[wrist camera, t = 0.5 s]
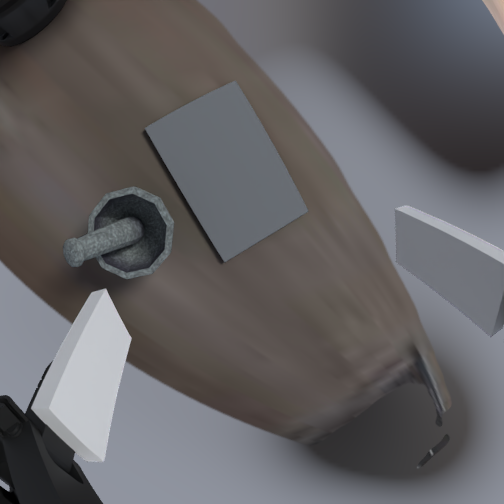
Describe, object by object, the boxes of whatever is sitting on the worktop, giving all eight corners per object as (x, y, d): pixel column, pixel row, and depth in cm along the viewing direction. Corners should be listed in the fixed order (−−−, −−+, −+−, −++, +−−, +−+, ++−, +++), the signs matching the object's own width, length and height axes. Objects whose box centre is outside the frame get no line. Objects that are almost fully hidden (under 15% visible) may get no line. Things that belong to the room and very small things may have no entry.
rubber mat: (145, 129, 33) (144, 128, 32) (234, 82, 34) (235, 80, 33) (223, 261, 38) (224, 262, 38) (306, 210, 39) (308, 211, 39)
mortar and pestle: (169, 180, 35) (159, 177, 23) (184, 252, 37) (182, 282, 26) (87, 201, 33) (46, 208, 22) (104, 270, 35) (73, 304, 24)
